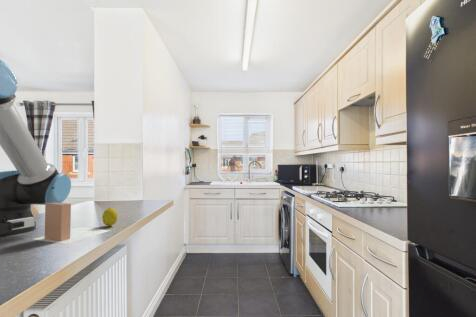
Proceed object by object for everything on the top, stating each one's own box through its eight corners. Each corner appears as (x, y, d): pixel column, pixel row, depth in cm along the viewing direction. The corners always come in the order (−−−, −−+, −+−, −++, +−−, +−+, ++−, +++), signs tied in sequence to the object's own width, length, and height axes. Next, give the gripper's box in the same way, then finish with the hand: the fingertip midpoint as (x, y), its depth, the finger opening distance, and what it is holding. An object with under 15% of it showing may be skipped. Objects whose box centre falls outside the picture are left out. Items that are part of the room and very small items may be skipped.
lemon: (113, 228, 101) (113, 208, 101) (99, 228, 101) (99, 208, 101) (119, 225, 106) (120, 206, 107) (106, 225, 107) (107, 206, 107)
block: (44, 239, 86) (45, 203, 86) (54, 236, 89) (55, 202, 89) (61, 241, 83) (61, 204, 83) (71, 238, 86) (71, 203, 86)
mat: (31, 239, 86) (31, 239, 86) (80, 227, 102) (80, 227, 102) (65, 245, 80) (65, 244, 80) (111, 231, 97) (111, 230, 97)
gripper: (-99, 255, 59) (19, 231, 81) (-70, 262, 54) (46, 235, 76) (-97, 222, 59) (20, 208, 81) (-68, 227, 54) (47, 210, 77)
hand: (32, 221), depth 79 cm, fingers closed
